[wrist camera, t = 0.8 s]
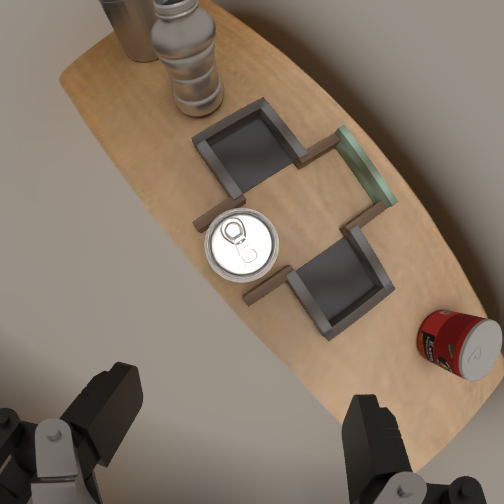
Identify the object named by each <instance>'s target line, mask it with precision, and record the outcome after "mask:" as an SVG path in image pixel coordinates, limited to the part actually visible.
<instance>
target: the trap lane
mask: <svg viewBox="0 0 504 504" xmlns="http://www.w3.org/2000/svg"><path fill="white" fill-rule="evenodd" d="M192 141H193V143H194V146H195V148H196V149H197V151H198V152H199V154H200V155H201V156H202V158H203V159H204V161H205V162H206V164H207V165H208V167H209V168H210V170H211V171H212V172H213V174H214V175H215V177H216V178H217V180H218V181H219V183H220V184H221V186H222V187H223V188H224V190H225V191H226V193H227V194H228V196H229V198H228V199H226V200H225V201H223V202H222V203H220V204H219V205H217V206H216V207H214V208H213V209H211V210H210V211H208V212H207V213H205V214H204V215H202V216H201V217H199V218H198V219H196V220H195V221H193V222H192V223H193V224H194V226H195V227H196V229H197V230H198V231H199V232H200V233H202V232H203V231H205V230H206V229H208V228H209V226H210V225H211V223H212V222H213V221H214V220H215V219H216V218H217V217H218V216H219V215H221V214H222V213H224V212H226V211H228V210H231V209H235V208H239V207H241V206H242V205H244V204H246V199H245V197H244V196H243V193H245V192H246V191H248V190H249V189H251V188H253V187H254V186H256V185H257V184H259V183H260V182H262V181H264V180H265V179H267V178H268V177H270V176H272V175H273V174H275V173H276V172H278V171H280V170H281V169H283V168H285V167H286V166H288V165H289V164H291V163H294V164H295V166H296V167H297V168H298V170H299V169H301V168H302V167H304V166H306V165H307V164H309V163H310V162H312V161H314V160H315V159H317V158H319V157H320V156H322V155H324V154H325V153H327V152H329V151H330V150H332V149H334V148H336V149H337V151H338V152H339V153H340V155H341V156H342V157H343V159H344V160H345V162H346V163H347V164H348V166H349V167H350V169H351V170H352V171H353V173H354V174H355V176H356V177H357V179H358V180H359V182H360V183H361V185H362V186H363V188H364V189H365V191H366V192H367V194H368V195H369V197H370V198H371V200H372V201H373V203H374V204H373V205H372V206H370V207H369V208H367V209H366V210H365V211H363V212H362V213H361V214H359V215H358V216H356V217H355V218H354V219H352V220H351V221H349V222H348V223H347V224H345V225H344V226H342V227H341V228H340V231H341V233H342V234H343V236H344V237H343V238H342V239H341V240H339V241H338V242H336V243H335V244H334V245H332V246H331V247H329V248H328V249H327V250H325V251H324V252H322V253H321V254H320V255H318V256H317V257H315V258H314V259H313V260H311V261H310V262H308V263H307V264H305V265H304V266H303V267H301V268H300V269H298V270H297V271H295V270H294V269H293V268H292V266H291V265H287V266H285V267H284V268H282V269H281V270H279V271H278V272H277V273H275V274H274V275H272V276H271V277H269V278H268V279H266V280H265V281H263V282H262V283H260V284H259V285H257V286H256V287H254V288H253V289H251V290H250V291H248V292H247V293H245V294H244V295H243V299H244V301H245V302H246V304H247V305H248V307H249V306H250V305H252V304H253V303H255V302H256V301H258V300H259V299H261V298H262V297H264V296H265V295H267V294H268V293H270V292H271V291H272V290H274V289H275V288H277V287H278V286H280V285H281V284H283V283H284V282H287V283H288V285H289V286H290V288H291V289H292V291H293V292H294V294H295V295H296V297H297V298H298V300H299V301H300V303H301V304H302V306H303V307H304V309H305V310H306V312H307V313H308V315H309V316H310V318H311V319H312V321H313V322H314V324H315V325H316V327H317V328H318V330H319V331H320V333H321V334H322V336H323V337H325V338H326V339H327V340H328V341H330V340H331V339H333V338H334V337H335V336H337V335H338V334H340V333H341V332H342V331H344V330H345V329H346V328H348V327H349V326H350V325H352V324H353V323H354V322H355V321H357V320H358V319H359V318H361V317H362V316H363V315H365V314H366V313H367V312H368V311H370V310H371V309H372V308H373V307H375V306H376V305H377V304H378V303H380V302H381V301H382V300H383V299H384V298H386V297H387V296H388V295H389V294H390V293H392V292H393V291H394V290H395V287H394V285H393V284H392V282H391V280H390V278H389V277H388V275H387V273H386V271H385V270H384V268H383V266H382V264H381V263H380V261H379V259H378V258H377V256H376V254H375V253H374V251H373V249H372V248H371V246H370V244H369V243H368V241H367V239H366V238H365V236H364V235H363V233H362V231H361V230H360V228H361V227H363V226H364V225H365V224H367V223H368V222H369V221H371V220H372V219H373V218H375V217H376V216H377V215H379V214H380V213H381V212H383V211H384V210H385V209H387V208H389V207H391V206H393V205H395V204H396V203H397V202H398V201H397V199H396V198H395V196H394V195H393V193H392V191H391V190H390V188H389V187H388V185H387V184H386V182H385V181H384V179H383V178H382V176H381V175H380V173H379V172H378V170H377V169H376V167H375V166H374V164H373V163H372V161H371V160H370V159H369V157H368V156H367V154H366V153H365V152H364V150H363V149H362V147H361V146H360V145H359V143H358V142H357V141H356V139H355V138H354V137H353V135H352V134H351V133H350V131H349V130H348V129H347V128H346V126H345V125H343V126H341V127H340V128H338V129H337V131H336V132H335V133H334V134H332V135H331V136H329V137H327V138H325V139H324V140H322V141H320V142H318V143H317V144H315V145H313V146H312V147H310V148H308V149H306V150H305V149H304V147H303V146H302V145H301V143H300V142H299V141H298V139H297V138H296V137H295V136H294V134H293V133H292V132H291V130H290V129H289V128H288V127H287V125H286V124H285V123H284V122H283V120H282V119H281V118H280V117H279V115H278V114H277V113H276V112H275V111H274V109H273V108H272V107H271V106H270V105H269V103H268V102H267V101H266V100H265V99H264V97H263V98H261V99H259V100H257V101H255V102H253V103H251V104H249V105H247V106H245V107H244V108H242V109H240V110H238V111H236V112H235V113H233V114H231V115H229V116H227V117H226V118H224V119H222V120H220V121H219V122H217V123H215V124H214V125H212V126H210V127H209V128H207V129H205V130H204V131H202V132H200V133H199V134H197V135H195V136H194V137H192Z"/></svg>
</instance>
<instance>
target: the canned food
mask: <svg viewBox="0 0 504 504" xmlns="http://www.w3.org/2000/svg"><path fill="white" fill-rule="evenodd" d="M417 345H418V349H419V352H420V353H421V355H422V356H423V357H424V358H425V359H426V360H428V361H430V362H432V363H434V364H436V365H438V366H440V367H442V368H444V369H446V370H448V371H450V372H451V373H453V374H455V375H457V376H459V377H461V378H464V379H466V380H469V381H478V380H480V379H482V378H483V377H484V376H486V375H487V374H488V373H489V372H490V370H491V369H492V368H493V366H494V364H495V363H496V361H497V359H498V356H499V354H500V350H501V346H502V332H501V328H500V326H499V325H498V323H497V322H495V321H493V320H490V319H486V318H482V317H477V316H472V315H467V314H462V313H458V312H453V311H448V310H441V311H437V312H434V313H432V314H431V315H430V316H428V317H427V318H426V320H425V321H424V322H423V324H422V326H421V328H420V330H419V333H418V337H417Z"/></svg>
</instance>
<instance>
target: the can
mask: <svg viewBox="0 0 504 504" xmlns="http://www.w3.org/2000/svg"><path fill="white" fill-rule="evenodd" d="M204 248H205V254H206V258H207V260H208V262H209V264H210V266H211V267H212V268H213V270H214V271H215V272H216V273H217V274H219V275H220V276H221V277H223V278H225V279H227V280H229V281H233V282H239V283H244V282H251V281H254V280H257V279H259V278H261V277H262V276H264V275H265V274H266V273H267V272H268V271H269V270H270V269H271V268H272V266H273V265H274V263H275V261H276V259H277V256H278V251H279V239H278V235H277V232H276V229H275V227H274V226H273V224H272V223H271V221H270V220H269V219H268V218H267V217H266V216H264V215H263V214H261V213H260V212H258V211H255V210H252V209H248V208H235V209H231V210H228V211H226V212H224V213H222V214H221V215H219V216H218V217H217V218H216V219H215V220H214V221H213V222H212V223H211V225H210V226H209V228H208V230H207V233H206V236H205V242H204Z"/></svg>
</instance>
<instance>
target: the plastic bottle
mask: <svg viewBox="0 0 504 504" xmlns="http://www.w3.org/2000/svg"><path fill="white" fill-rule="evenodd" d="M153 4H154V8H155V9H154V12H155V15H156V17H157V19H156V21H155V22H154V24H153V26H152V29H151V31H150V44H151V47H152V48H153V50H154V52H155V53H156V55H157V56H158V57H159V59H160V60H161V61H162V63H163V64H164V66H165V68H166V70H167V72H168V74H169V76H170V78H171V82H172V86H173V97H174V101H175V104H176V105H177V107H178V108H179V109H180V110H181V111H182V112H183V113H185V114H186V115H189V116H204V115H207V114H209V113H211V112H213V111H214V110H215V109H216V108H217V107H218V106H219V105H220V103H221V102H222V99H223V94H224V86H223V83H222V80H221V78H220V76H219V74H218V71H217V68H216V65H215V53H214V49H215V38H216V24H215V22H214V20H213V18H212V17H211V15H210V14H209V13H208V12H206V11H205V10H203V9H202V8H200V7H198V5H199V2H198V0H153Z"/></svg>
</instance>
